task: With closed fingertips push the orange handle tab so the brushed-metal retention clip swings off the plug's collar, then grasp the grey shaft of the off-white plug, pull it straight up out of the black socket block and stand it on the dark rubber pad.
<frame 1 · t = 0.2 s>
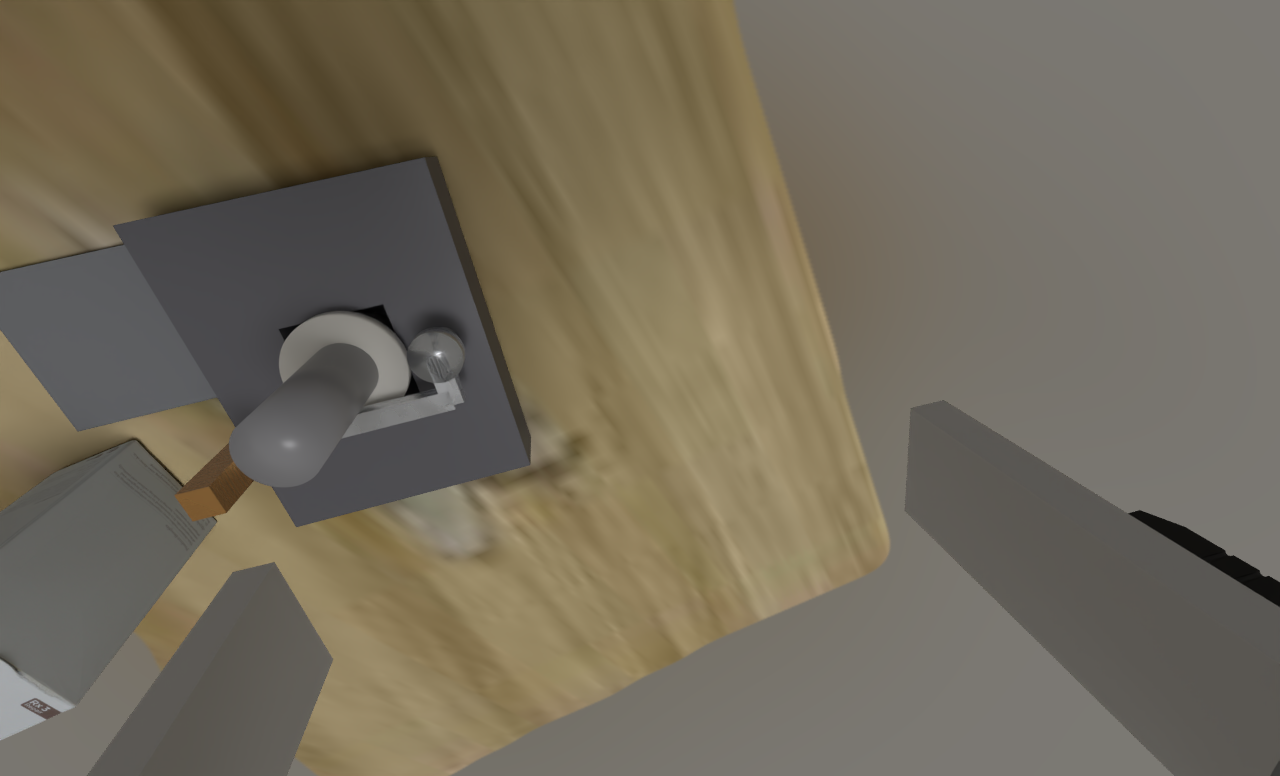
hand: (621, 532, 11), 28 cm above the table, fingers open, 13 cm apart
plug: (369, 344, 36), resting on socket block
skincare box: (149, 496, 38), on the table
socket block: (371, 341, 36), on the table
clip: (333, 414, 28), point 9 cm above the table, hinge at 0.0°
pad: (117, 337, 33), on the table
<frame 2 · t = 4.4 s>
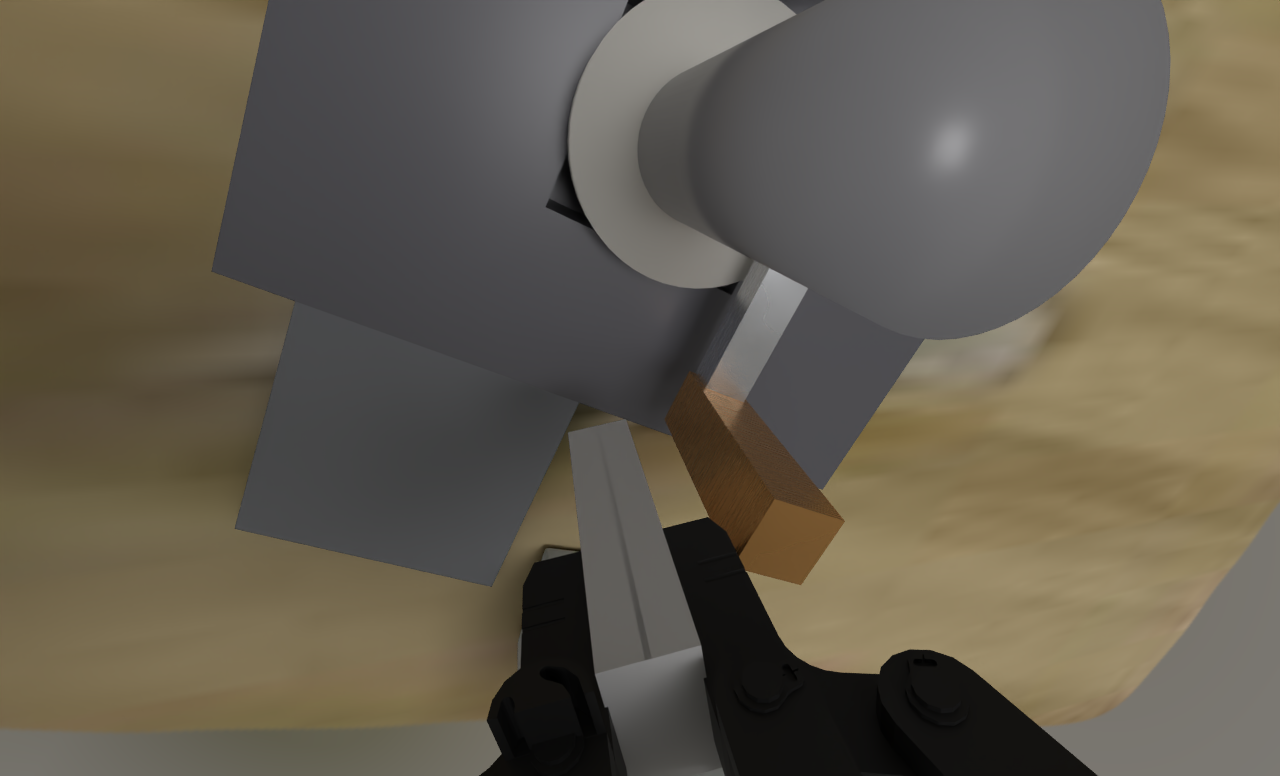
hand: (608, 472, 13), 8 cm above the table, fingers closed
plug: (665, 149, 18), point 1 cm above the table, touching socket block
skincare box: (616, 593, 26), on the table
socket block: (662, 149, 18), on the table
clip: (812, 174, 10), point 9 cm above the table, hinge at 1.0°, touching gripper
pad: (412, 452, 21), on the table
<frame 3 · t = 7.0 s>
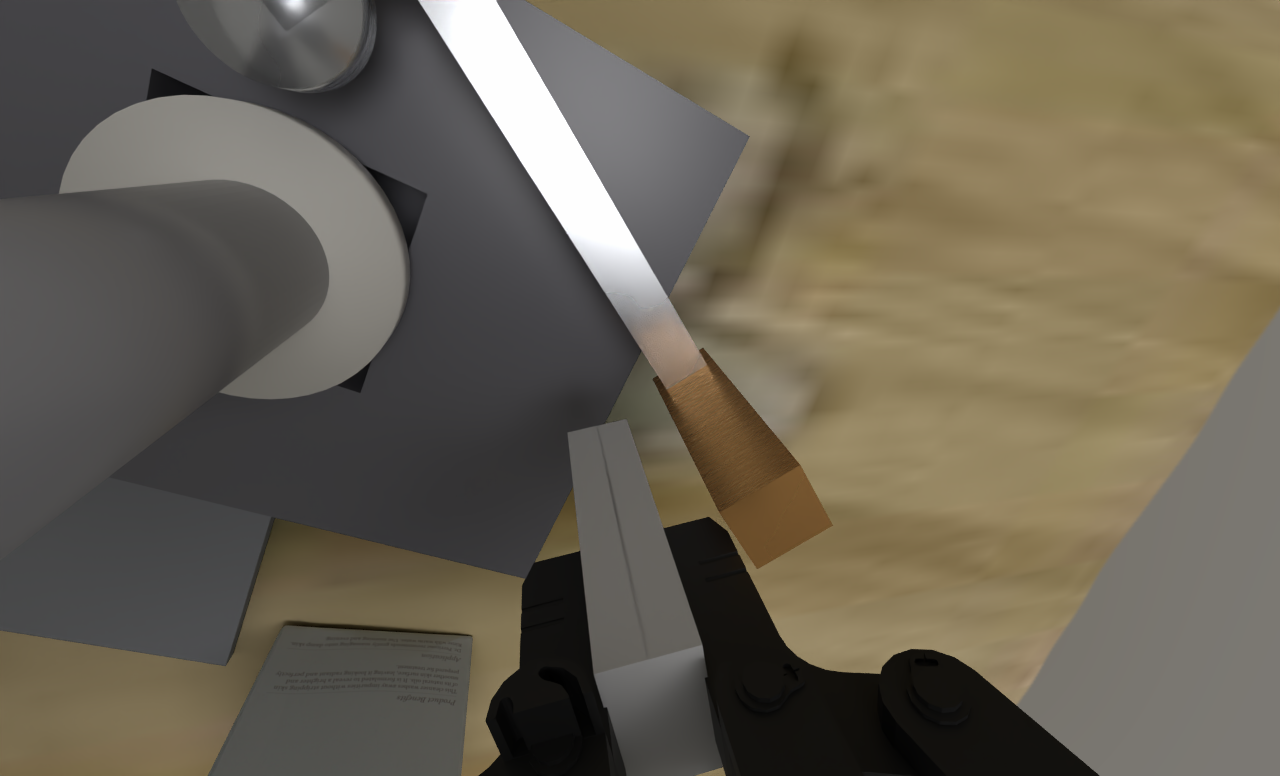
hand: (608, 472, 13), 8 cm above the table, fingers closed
plug: (320, 233, 17), point 1 cm above the table, touching socket block
skincare box: (382, 666, 25), on the table
socket block: (326, 231, 17), on the table
clip: (499, 246, 10), point 9 cm above the table, hinge at 57.0°, touching gripper
pad: (111, 534, 20), on the table
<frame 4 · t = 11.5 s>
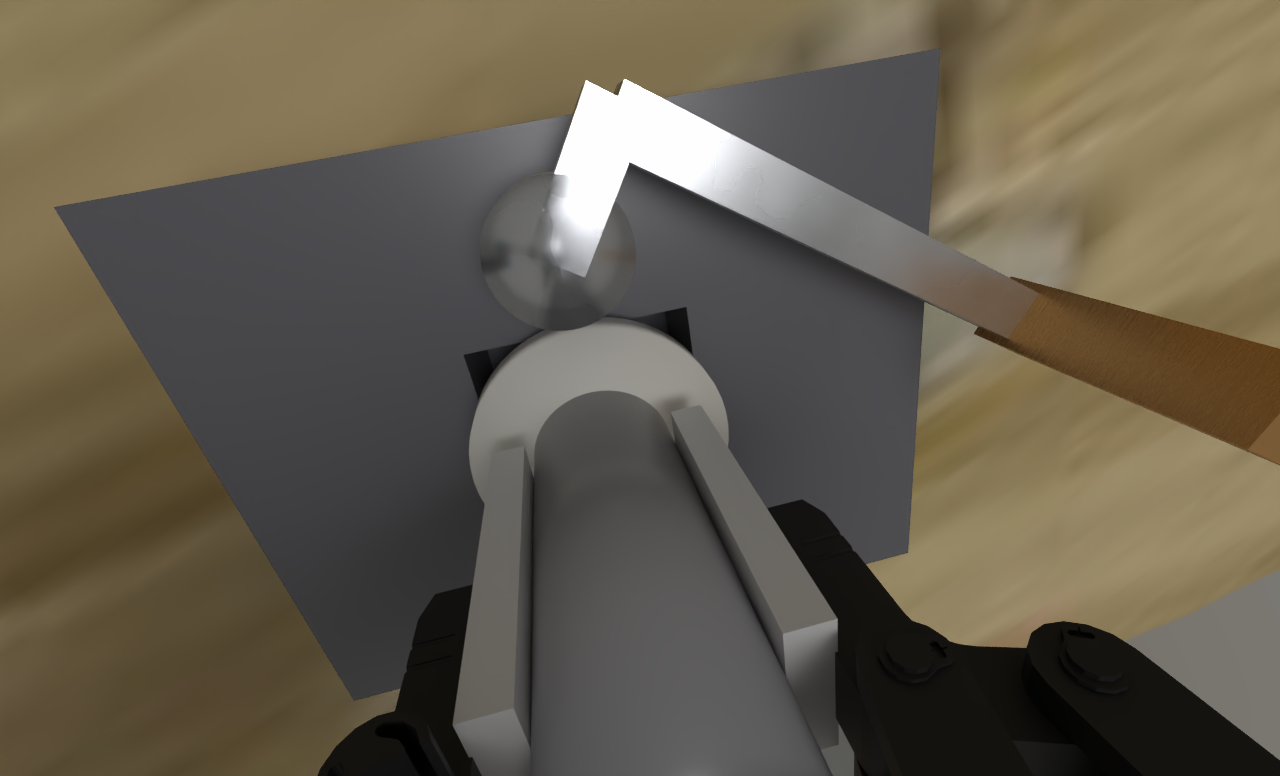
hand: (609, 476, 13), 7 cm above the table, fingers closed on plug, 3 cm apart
plug: (587, 380, 19), point 1 cm above the table, touching gripper, socket block
skincare box: (793, 665, 28), on the table
socket block: (587, 375, 19), on the table
clip: (859, 333, 10), point 9 cm above the table, hinge at 57.1°
when the fingers open (8 cm above the table, at t = 17.5 s): plug drops 2 cm, resting on pad.
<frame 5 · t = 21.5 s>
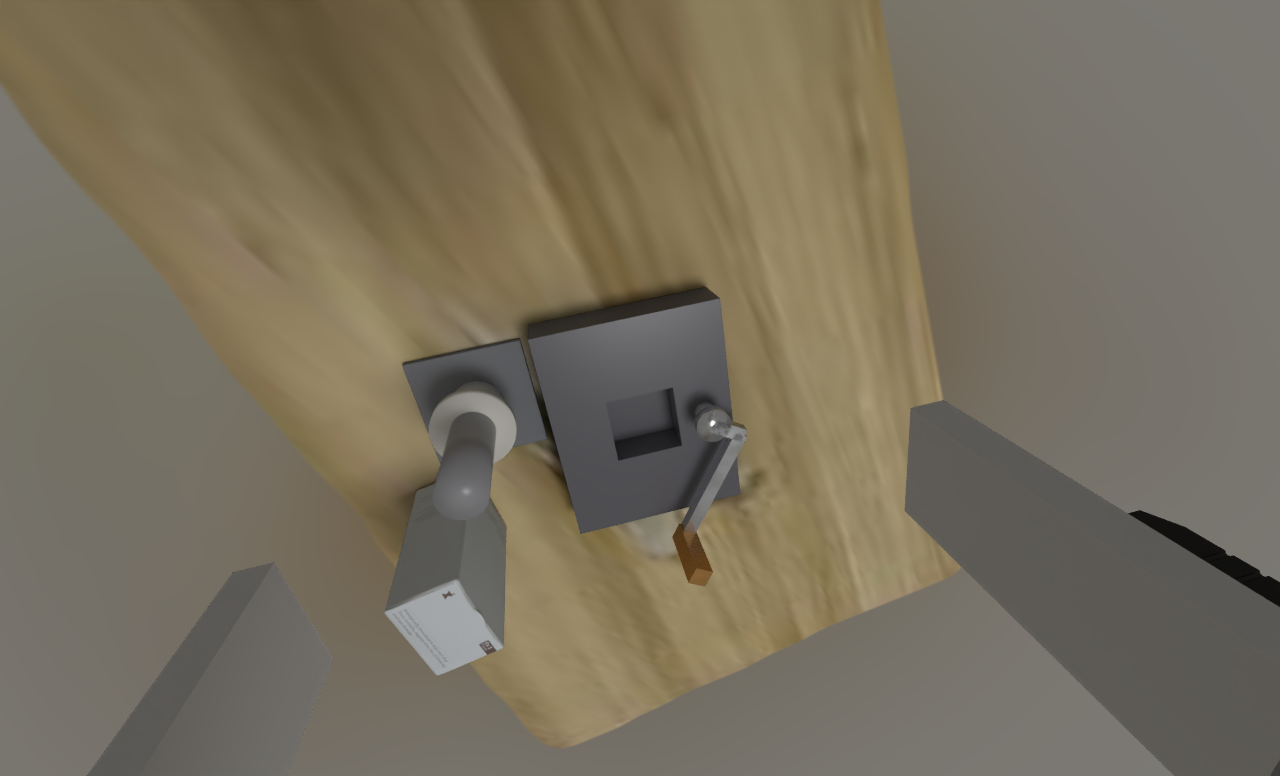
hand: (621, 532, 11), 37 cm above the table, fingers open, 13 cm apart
plug: (478, 404, 48), point 1 cm above the table, touching pad
skincare box: (466, 508, 53), on the table
socket block: (637, 405, 51), on the table
clip: (704, 494, 46), point 9 cm above the table, hinge at 57.1°
pad: (479, 401, 49), on the table
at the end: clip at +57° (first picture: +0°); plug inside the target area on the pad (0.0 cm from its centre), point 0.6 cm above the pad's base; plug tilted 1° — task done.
